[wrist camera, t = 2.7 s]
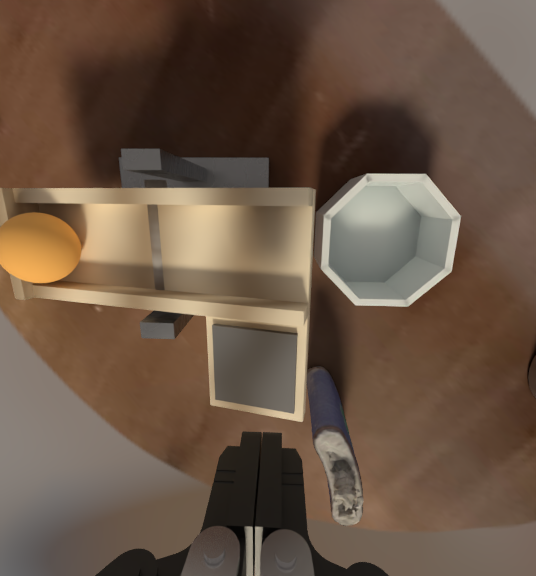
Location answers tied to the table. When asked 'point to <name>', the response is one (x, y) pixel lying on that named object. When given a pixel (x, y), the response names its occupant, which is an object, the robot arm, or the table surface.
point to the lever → (198, 274)
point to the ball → (38, 247)
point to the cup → (386, 238)
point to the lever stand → (186, 175)
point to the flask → (334, 447)
